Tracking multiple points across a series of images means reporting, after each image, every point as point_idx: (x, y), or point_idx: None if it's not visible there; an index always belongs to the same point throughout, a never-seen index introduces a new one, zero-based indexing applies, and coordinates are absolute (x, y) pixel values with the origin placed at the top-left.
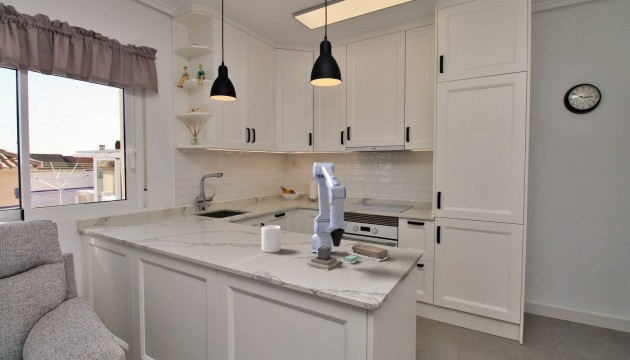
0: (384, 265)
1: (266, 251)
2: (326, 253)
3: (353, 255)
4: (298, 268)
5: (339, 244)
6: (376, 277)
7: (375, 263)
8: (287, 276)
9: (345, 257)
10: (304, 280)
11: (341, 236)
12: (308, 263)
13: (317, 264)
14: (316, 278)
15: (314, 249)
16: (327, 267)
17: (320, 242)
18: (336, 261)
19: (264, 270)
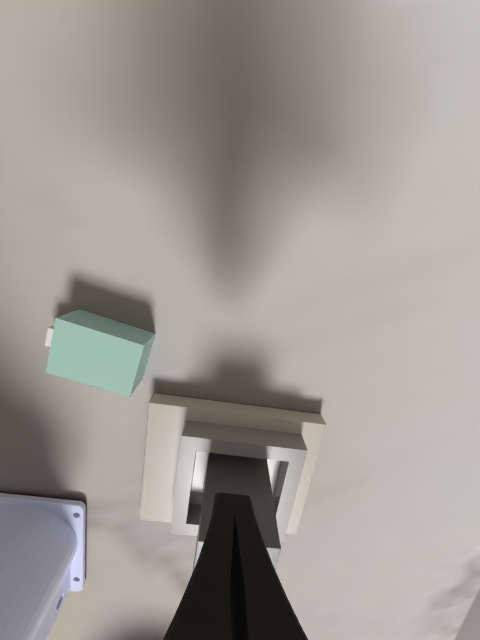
0: (45, 84)
1: None
2: (266, 511)
3: (52, 352)
4: (348, 532)
5: (225, 509)
6: (335, 86)
7: (43, 171)
8: (461, 527)
9: (132, 388)
10: None
11: (197, 631)
12: (297, 525)
13: (303, 484)
14: (454, 416)
15: (63, 591)
16: (325, 423)
17: (29, 634)
18: (202, 416)
19: (418, 619)
